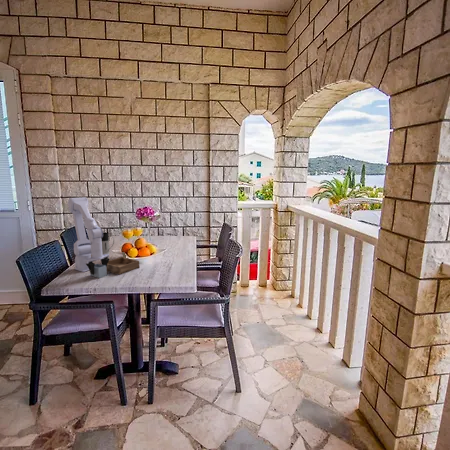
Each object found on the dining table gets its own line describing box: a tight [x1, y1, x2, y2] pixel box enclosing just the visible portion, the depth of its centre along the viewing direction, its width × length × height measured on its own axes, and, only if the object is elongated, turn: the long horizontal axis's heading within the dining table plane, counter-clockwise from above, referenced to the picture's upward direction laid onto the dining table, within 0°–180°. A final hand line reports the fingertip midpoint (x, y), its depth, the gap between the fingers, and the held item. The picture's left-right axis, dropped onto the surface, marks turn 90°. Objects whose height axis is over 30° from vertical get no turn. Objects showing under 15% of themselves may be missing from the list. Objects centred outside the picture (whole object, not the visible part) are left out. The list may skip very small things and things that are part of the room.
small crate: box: [89, 263, 108, 279], centre depth 168 cm, size 8×5×6 cm, turn 59°
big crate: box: [106, 256, 140, 275], centre depth 180 cm, size 16×15×4 cm
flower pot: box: [120, 245, 136, 258], centre depth 200 cm, size 9×9×9 cm
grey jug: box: [101, 231, 115, 255], centre depth 213 cm, size 9×14×15 cm, turn 71°
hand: (98, 272), depth 168 cm, fingers open, 7 cm apart
